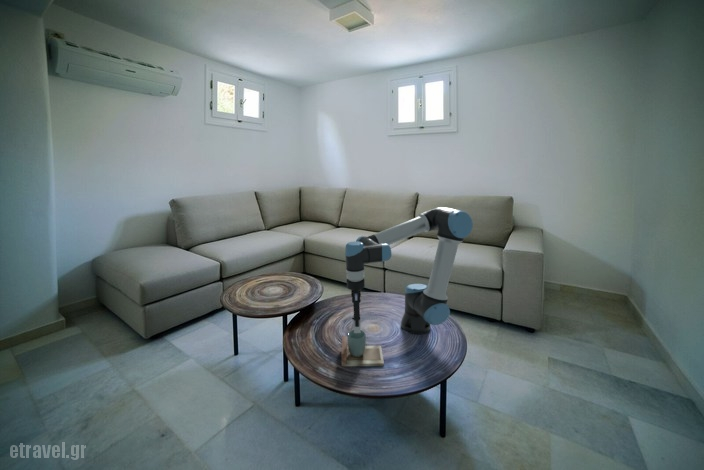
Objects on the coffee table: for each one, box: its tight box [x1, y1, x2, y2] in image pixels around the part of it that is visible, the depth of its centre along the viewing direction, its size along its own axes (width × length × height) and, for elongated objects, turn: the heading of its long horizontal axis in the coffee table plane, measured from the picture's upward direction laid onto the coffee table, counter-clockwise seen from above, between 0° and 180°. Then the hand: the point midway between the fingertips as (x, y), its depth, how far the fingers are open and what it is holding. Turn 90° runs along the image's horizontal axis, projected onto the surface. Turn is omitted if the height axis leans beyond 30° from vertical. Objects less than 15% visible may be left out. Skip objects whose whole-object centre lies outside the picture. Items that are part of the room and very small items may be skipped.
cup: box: [347, 329, 367, 357], centre depth 134 cm, size 8×8×10 cm
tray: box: [341, 335, 385, 367], centre depth 135 cm, size 18×13×6 cm
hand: (357, 324), depth 132 cm, fingers open, 13 cm apart
